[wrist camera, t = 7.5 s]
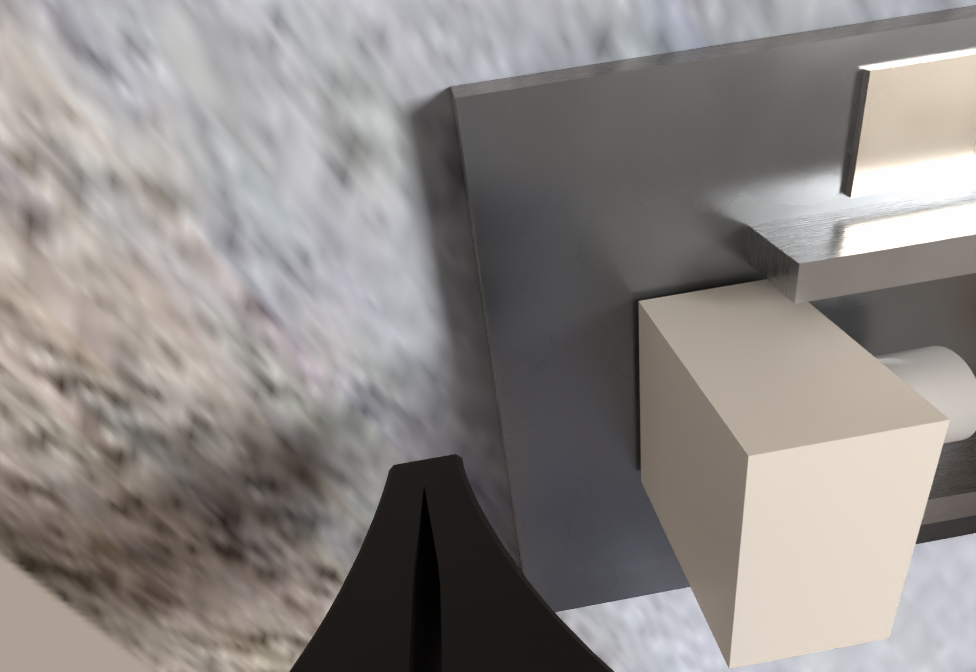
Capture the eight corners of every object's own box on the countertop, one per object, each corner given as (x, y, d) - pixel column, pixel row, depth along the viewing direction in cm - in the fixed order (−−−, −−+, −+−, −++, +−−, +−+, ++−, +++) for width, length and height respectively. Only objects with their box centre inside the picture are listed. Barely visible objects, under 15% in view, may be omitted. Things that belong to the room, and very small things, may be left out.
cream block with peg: (641, 481, 16) (729, 669, 12) (638, 301, 14) (749, 456, 9) (876, 438, 17) (1045, 607, 12) (915, 254, 14) (1146, 383, 10)
